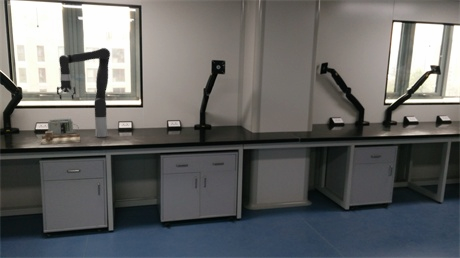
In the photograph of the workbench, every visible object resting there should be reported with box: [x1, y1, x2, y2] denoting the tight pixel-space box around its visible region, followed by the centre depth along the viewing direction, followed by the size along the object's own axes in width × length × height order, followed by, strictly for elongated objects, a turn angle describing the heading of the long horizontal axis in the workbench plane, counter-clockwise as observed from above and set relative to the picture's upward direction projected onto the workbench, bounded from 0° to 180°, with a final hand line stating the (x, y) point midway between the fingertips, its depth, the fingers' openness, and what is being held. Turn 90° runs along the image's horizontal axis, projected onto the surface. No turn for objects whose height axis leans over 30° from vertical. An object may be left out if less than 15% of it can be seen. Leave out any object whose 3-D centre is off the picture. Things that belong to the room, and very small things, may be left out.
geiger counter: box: [47, 117, 79, 135], centre depth 320 cm, size 14×6×25 cm
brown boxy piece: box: [44, 130, 53, 140], centre depth 288 cm, size 5×10×6 cm, turn 23°
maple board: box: [40, 133, 81, 145], centre depth 292 cm, size 28×14×4 cm, turn 113°
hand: (66, 99), depth 303 cm, fingers open, 8 cm apart
